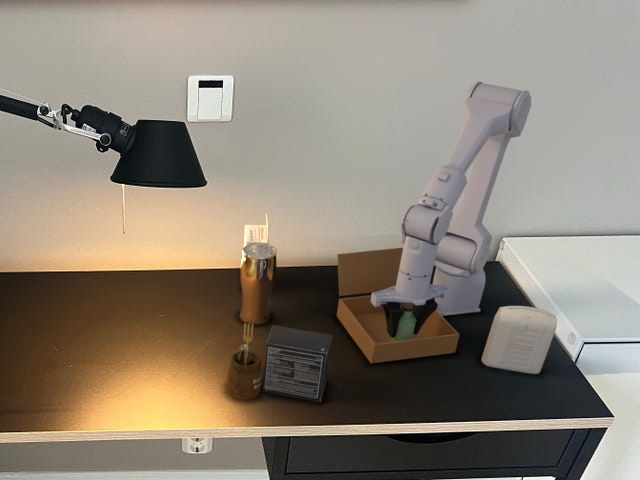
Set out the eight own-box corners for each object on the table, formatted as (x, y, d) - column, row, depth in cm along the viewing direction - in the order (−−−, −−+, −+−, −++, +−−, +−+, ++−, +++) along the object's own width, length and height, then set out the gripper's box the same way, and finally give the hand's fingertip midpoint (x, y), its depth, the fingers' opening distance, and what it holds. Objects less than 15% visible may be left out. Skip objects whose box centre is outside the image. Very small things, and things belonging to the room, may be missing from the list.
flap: (339, 296, 149) (339, 295, 150) (418, 287, 152) (417, 287, 152) (338, 254, 148) (337, 254, 148) (416, 246, 150) (416, 246, 151)
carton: (336, 317, 152) (339, 298, 150) (413, 308, 155) (417, 289, 152) (370, 364, 139) (374, 345, 136) (454, 354, 141) (459, 334, 139)
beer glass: (271, 308, 155) (277, 243, 147) (272, 326, 150) (278, 259, 141) (237, 307, 156) (241, 241, 147) (237, 325, 150) (241, 258, 142)
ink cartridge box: (241, 272, 168) (245, 210, 160) (263, 272, 168) (268, 211, 159) (242, 291, 161) (246, 228, 153) (265, 291, 161) (271, 228, 153)
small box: (327, 382, 135) (334, 333, 129) (321, 404, 130) (328, 354, 124) (268, 371, 138) (273, 322, 131) (260, 392, 133) (265, 342, 126)
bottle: (405, 335, 146) (413, 299, 142) (415, 346, 143) (423, 310, 138) (386, 337, 146) (393, 301, 141) (395, 348, 142) (402, 312, 138)
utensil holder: (225, 399, 131) (228, 342, 124) (228, 378, 136) (231, 322, 129) (259, 402, 130) (264, 345, 123) (261, 381, 135) (266, 324, 128)
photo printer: (539, 364, 139) (559, 306, 131) (542, 377, 135) (562, 319, 128) (480, 354, 141) (497, 298, 134) (481, 367, 138) (498, 310, 131)
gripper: (387, 284, 131) (375, 349, 139) (464, 276, 133) (448, 340, 141) (370, 265, 137) (360, 328, 144) (444, 258, 139) (429, 320, 147)
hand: (402, 333), depth 143 cm, fingers open, 4 cm apart
